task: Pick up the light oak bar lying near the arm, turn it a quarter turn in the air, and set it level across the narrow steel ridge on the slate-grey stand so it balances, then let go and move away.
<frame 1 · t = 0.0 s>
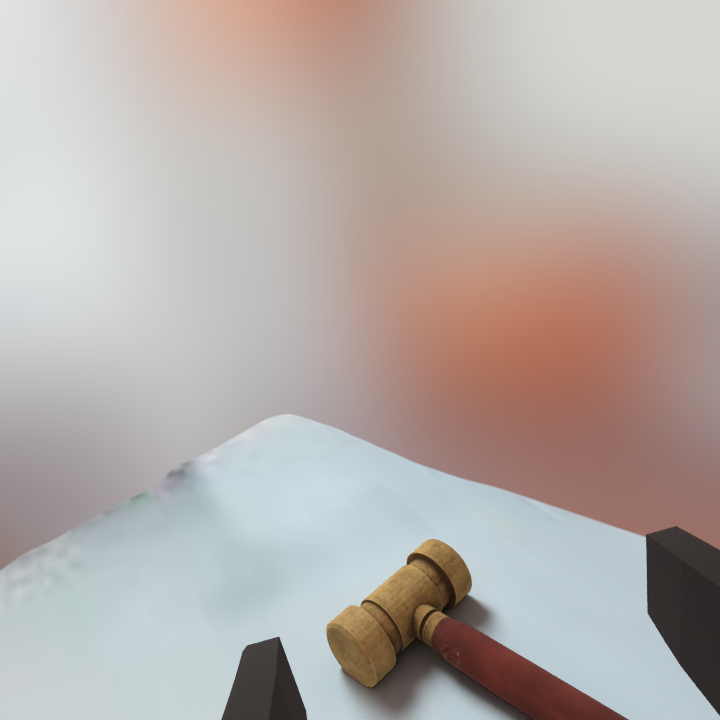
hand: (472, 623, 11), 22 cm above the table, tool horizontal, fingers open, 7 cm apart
gavel: (509, 697, 34), on the table
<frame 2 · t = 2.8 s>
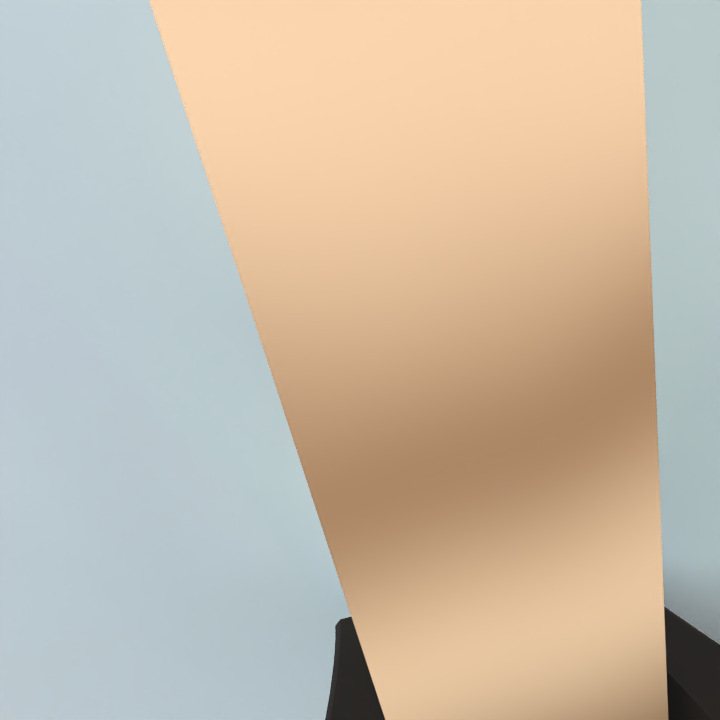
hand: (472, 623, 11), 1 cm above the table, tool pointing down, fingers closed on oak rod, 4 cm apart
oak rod: (447, 562, 13), on the table, touching gripper
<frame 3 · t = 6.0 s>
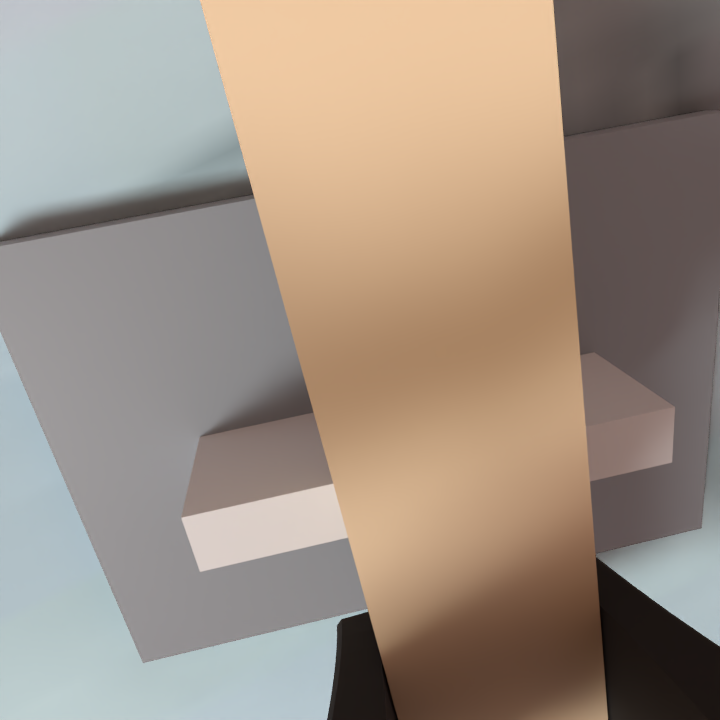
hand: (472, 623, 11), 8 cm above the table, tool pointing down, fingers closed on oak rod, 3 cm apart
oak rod: (424, 505, 14), point 5 cm above the table, touching gripper
fulcrum stand: (397, 400, 19), on the table
when the fingers open (7 cm above the table, at t = 6.9 s): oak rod stays where it is, resting on fulcrum stand.
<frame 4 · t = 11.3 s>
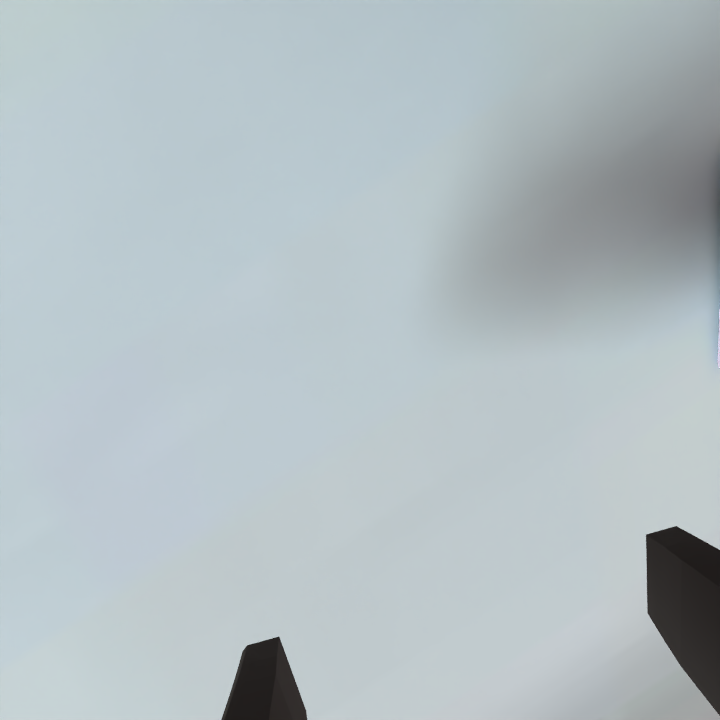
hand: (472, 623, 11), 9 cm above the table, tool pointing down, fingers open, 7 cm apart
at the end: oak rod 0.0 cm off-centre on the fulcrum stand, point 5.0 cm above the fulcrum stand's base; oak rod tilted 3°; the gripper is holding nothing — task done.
